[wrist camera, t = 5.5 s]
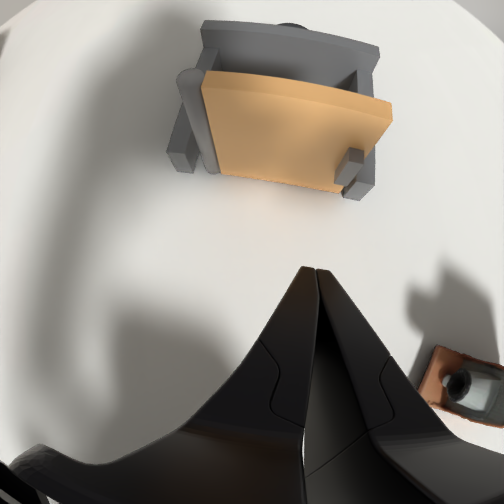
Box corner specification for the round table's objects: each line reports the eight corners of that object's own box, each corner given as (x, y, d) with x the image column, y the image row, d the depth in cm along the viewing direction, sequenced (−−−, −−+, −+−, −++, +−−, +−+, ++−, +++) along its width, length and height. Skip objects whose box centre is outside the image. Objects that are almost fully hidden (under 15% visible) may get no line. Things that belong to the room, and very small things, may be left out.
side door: (337, 204, 20) (393, 136, 11) (201, 182, 20) (167, 100, 11) (339, 179, 20) (391, 101, 11) (207, 157, 20) (180, 68, 11)
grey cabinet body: (359, 201, 20) (387, 172, 15) (177, 171, 21) (157, 136, 16) (360, 76, 22) (377, 37, 17) (214, 53, 22) (208, 12, 18)
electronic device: (428, 341, 19) (497, 354, 11) (500, 369, 18) (561, 380, 11) (405, 398, 18) (465, 433, 11) (482, 416, 17) (538, 439, 10)
